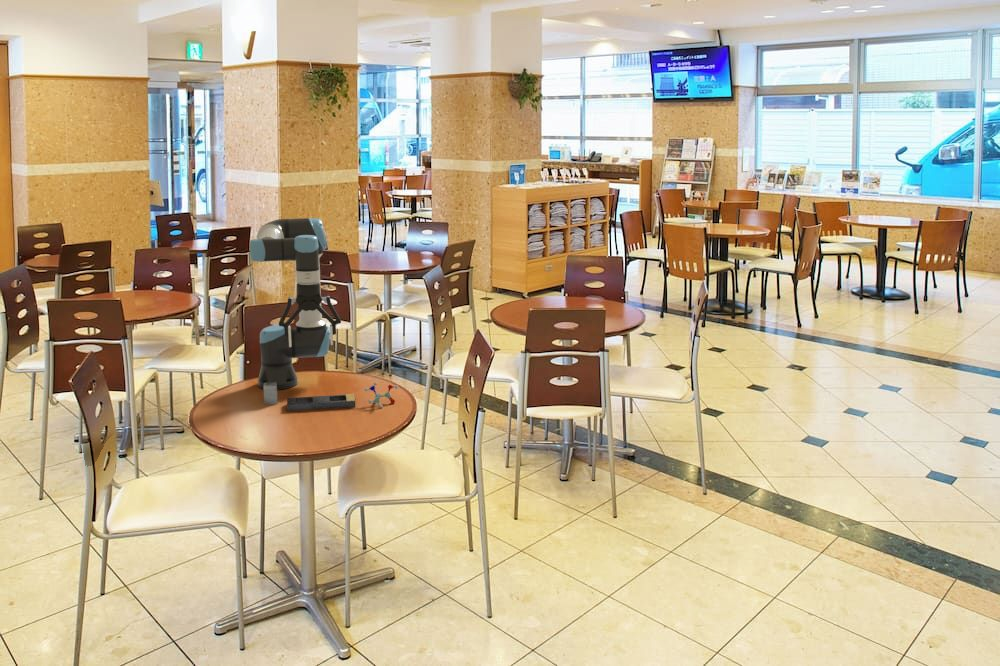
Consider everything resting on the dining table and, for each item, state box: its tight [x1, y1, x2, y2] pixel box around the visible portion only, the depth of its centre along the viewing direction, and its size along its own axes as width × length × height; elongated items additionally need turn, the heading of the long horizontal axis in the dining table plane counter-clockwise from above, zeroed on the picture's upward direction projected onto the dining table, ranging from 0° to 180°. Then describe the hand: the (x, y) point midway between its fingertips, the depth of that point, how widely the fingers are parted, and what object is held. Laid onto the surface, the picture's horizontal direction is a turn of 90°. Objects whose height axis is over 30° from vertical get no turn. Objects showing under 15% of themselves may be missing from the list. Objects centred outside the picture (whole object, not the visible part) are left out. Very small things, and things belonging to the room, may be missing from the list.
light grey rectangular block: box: [263, 382, 279, 406], centre depth 322 cm, size 4×4×7 cm
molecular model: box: [364, 381, 399, 409], centre depth 321 cm, size 12×10×10 cm
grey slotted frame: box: [286, 393, 356, 413], centre depth 319 cm, size 8×24×3 cm, turn 103°
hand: (311, 345), depth 294 cm, fingers open, 13 cm apart
